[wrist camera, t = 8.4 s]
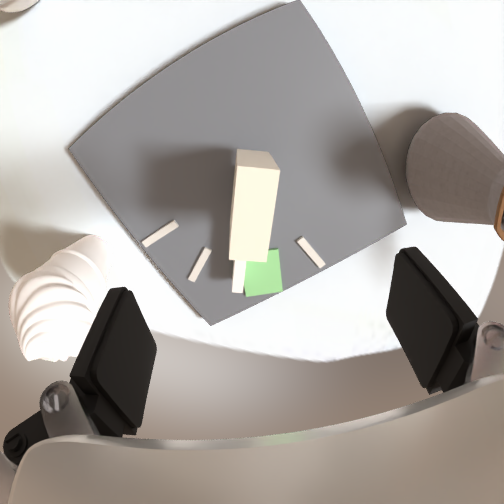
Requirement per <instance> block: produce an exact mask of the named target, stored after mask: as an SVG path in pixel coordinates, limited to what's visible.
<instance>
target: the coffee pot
mask: <svg viewBox="0 0 504 504" xmlns="http://www.w3.org/2000/svg"><path fill="white" fill-rule="evenodd" d="M406 179H407V183H408V187H409V191H410V194H411V196H412V198H413V200H414V202H415V204H416V206H417V207H418V208H419V209H420V210H421V211H422V212H423V213H424V214H425V215H426V216H428V217H430V218H432V219H434V220H436V221H443V222H457V223H473V224H487V225H494V229H495V231H496V232H497V234H498V236H499V237H500V238H501V239H502V240H503V241H504V154H503V153H502V152H501V151H500V150H499V149H498V148H497V146H496V145H495V144H494V143H493V142H492V141H491V140H490V139H489V138H488V137H487V136H486V134H485V133H484V132H483V131H482V130H481V129H480V128H479V127H478V126H477V125H476V124H475V123H473V122H472V121H471V120H470V119H469V118H467V117H465V116H463V115H460V114H458V113H443V114H440V115H437V116H435V117H432V118H431V119H429V120H428V121H427V122H426V123H425V124H423V125H422V126H421V127H420V128H419V130H418V131H417V133H416V134H415V135H414V137H413V139H412V142H411V144H410V147H409V149H408V154H407V160H406Z"/></svg>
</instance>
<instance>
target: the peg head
mask: <svg viewBox="0 0 504 504" xmlns="http://www.w3.org/2000/svg"><path fill="white" fill-rule="evenodd" d="M279 175H280V169H279V167H278V166H277V164H276V163H275V161H274V159H273V158H272V156H271V155H270V153H269V152H264V151H255V150H244V149H237V153H236V163H235V173H234V178H233V194H232V205H231V216H230V237H229V260H234V264H233V275H232V292H234V293H243V286H244V278H245V269H246V261H255V262H267V255H268V249H269V242H270V236H271V229H272V223H273V216H274V209H275V203H276V196H277V189H278V182H279Z"/></svg>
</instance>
